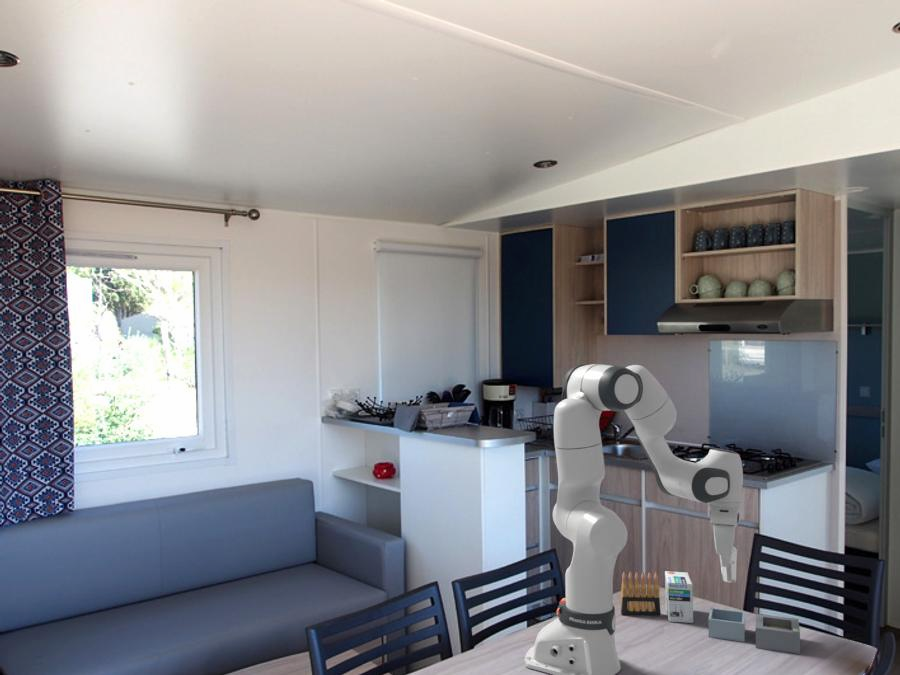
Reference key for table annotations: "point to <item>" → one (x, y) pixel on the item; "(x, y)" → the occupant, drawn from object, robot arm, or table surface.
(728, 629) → the bin
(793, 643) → the square frame
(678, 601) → the light bulb box
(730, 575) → the milkshake
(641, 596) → the ammunition clip
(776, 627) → the plain tan rectangular plate
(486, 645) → the table surface
